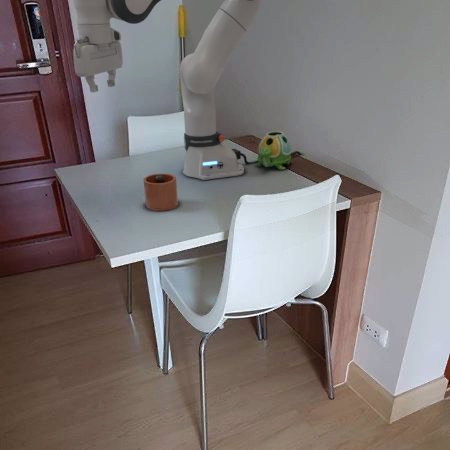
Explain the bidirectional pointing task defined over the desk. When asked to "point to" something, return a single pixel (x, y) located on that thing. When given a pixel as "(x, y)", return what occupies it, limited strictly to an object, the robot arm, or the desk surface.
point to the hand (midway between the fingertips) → (103, 89)
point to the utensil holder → (160, 193)
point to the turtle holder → (274, 150)
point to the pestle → (159, 179)
